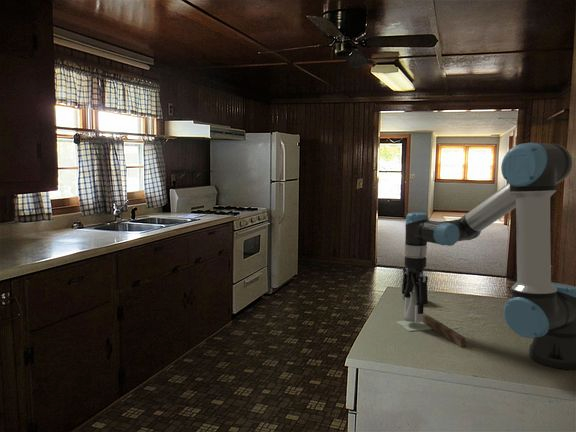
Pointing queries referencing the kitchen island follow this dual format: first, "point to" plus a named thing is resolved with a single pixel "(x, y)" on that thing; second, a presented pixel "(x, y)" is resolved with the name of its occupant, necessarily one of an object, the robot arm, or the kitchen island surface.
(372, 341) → the kitchen island surface
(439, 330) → the rail
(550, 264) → the robot arm
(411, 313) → the flask
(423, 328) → the board
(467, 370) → the kitchen island surface
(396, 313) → the kitchen island surface
